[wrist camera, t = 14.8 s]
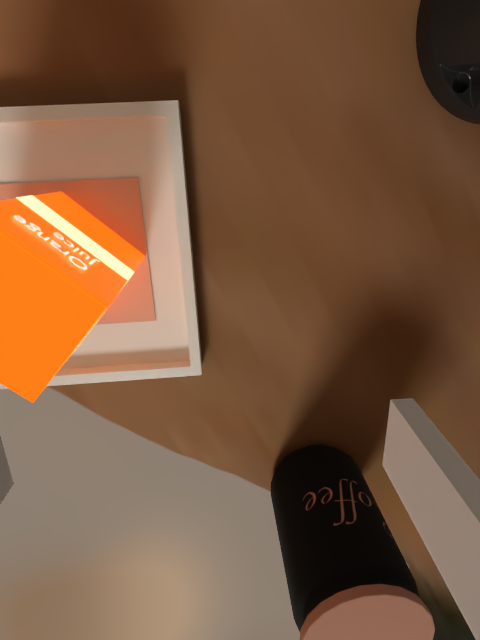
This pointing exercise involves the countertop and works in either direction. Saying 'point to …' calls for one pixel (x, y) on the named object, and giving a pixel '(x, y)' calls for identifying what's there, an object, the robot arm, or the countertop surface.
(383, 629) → the coffee jar
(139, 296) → the tray
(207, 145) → the countertop surface
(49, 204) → the orange juice
